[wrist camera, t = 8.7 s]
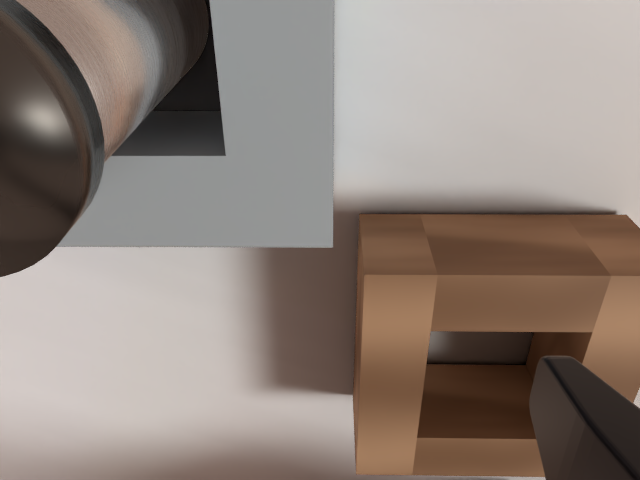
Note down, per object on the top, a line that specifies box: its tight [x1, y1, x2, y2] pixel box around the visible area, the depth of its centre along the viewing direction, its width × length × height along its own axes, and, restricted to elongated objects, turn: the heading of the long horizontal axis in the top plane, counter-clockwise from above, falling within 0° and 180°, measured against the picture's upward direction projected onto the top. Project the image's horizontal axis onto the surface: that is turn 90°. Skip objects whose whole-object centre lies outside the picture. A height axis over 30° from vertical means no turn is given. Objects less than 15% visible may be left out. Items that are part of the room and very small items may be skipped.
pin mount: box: [353, 214, 640, 477], centre depth 21 cm, size 10×10×4 cm
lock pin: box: [0, 0, 209, 277], centre depth 12 cm, size 5×5×11 cm
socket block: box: [56, 0, 334, 248], centre depth 15 cm, size 12×12×4 cm
